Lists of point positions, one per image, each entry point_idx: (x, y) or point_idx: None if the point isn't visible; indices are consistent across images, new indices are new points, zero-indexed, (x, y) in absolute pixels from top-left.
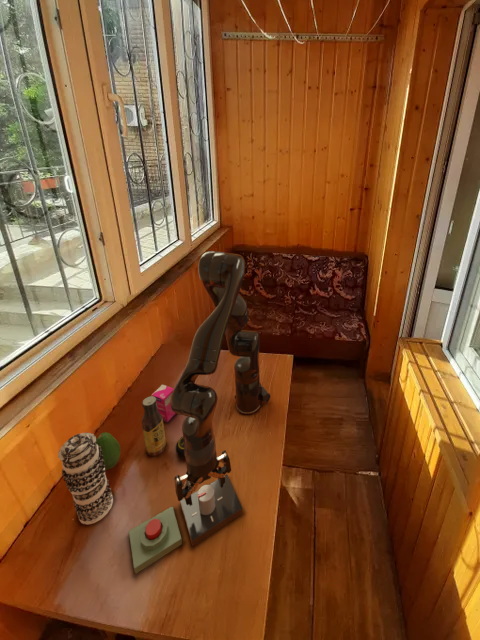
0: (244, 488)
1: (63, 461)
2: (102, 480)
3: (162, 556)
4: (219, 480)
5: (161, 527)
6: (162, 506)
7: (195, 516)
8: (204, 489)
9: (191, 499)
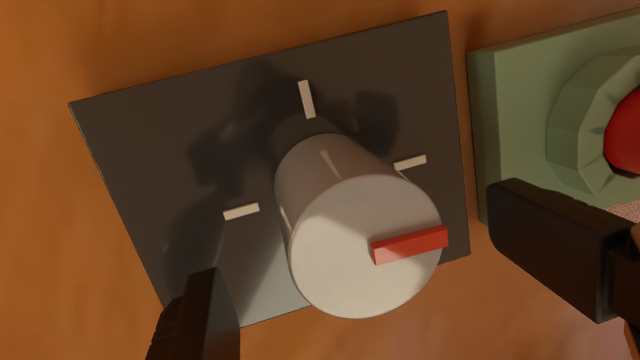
0: (78, 244)
1: None
2: None
3: (561, 27)
4: (221, 342)
5: (611, 132)
6: None
7: (404, 148)
8: (376, 282)
9: (551, 210)
